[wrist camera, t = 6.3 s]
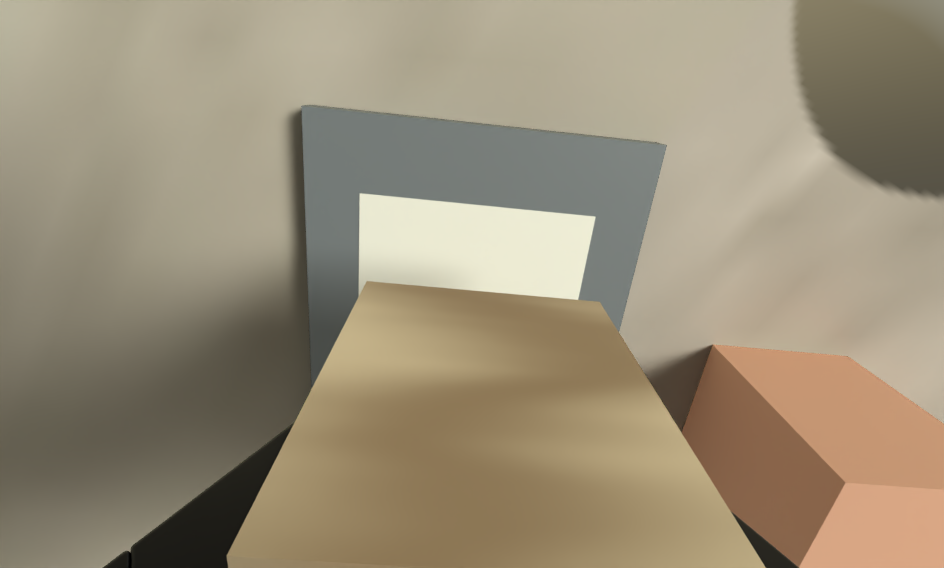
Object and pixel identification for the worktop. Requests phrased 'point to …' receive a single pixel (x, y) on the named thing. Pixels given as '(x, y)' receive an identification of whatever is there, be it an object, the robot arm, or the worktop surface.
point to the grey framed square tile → (467, 211)
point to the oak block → (485, 448)
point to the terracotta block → (821, 458)
